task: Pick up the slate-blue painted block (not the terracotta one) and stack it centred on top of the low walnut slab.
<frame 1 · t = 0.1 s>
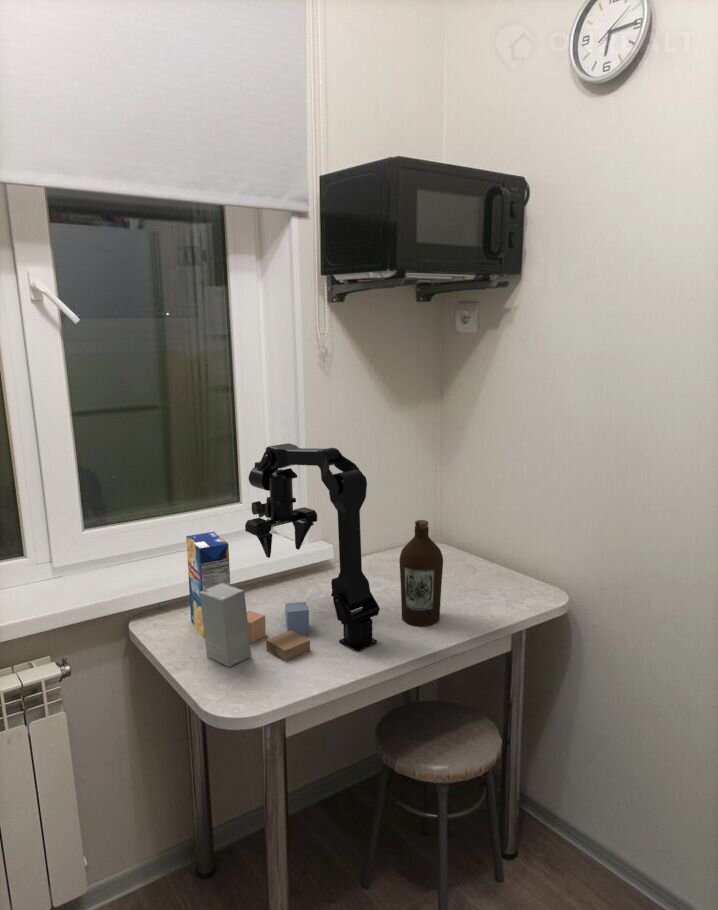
hand: (283, 553, 174), 15 cm above the table, fingers open, 9 cm apart
beverage box: (211, 627, 166), on the table
terracotta block: (250, 636, 161), on the table
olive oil: (420, 619, 169), on the table
walnut slab: (288, 652, 153), on the table
slate block: (297, 630, 164), on the table
skincare box: (227, 658, 151), on the table
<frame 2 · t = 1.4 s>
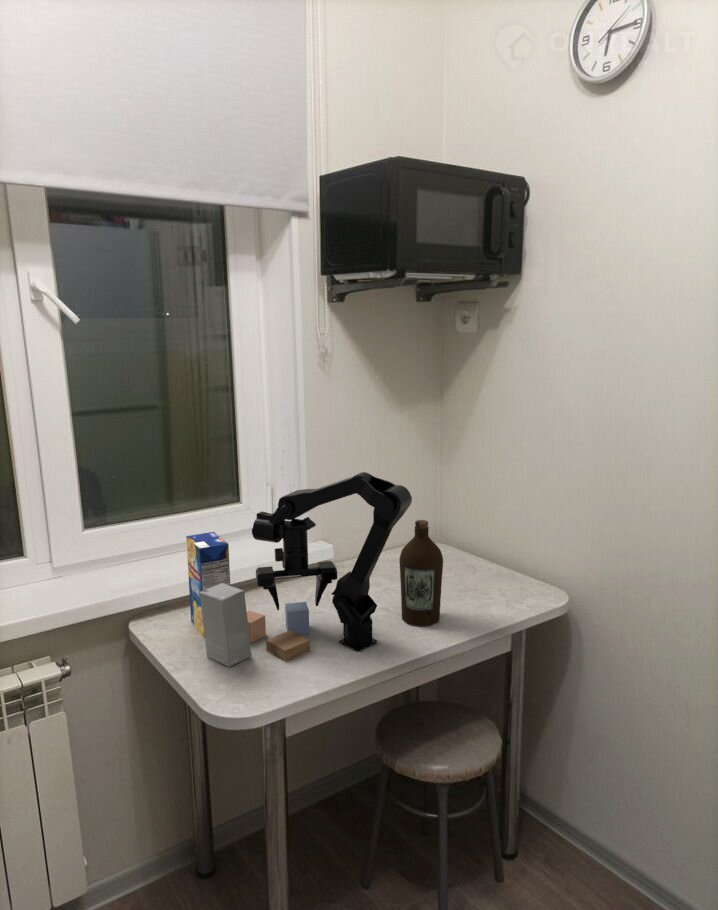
hand: (297, 607, 163), 6 cm above the table, fingers open, 9 cm apart
nothing on the table moved.
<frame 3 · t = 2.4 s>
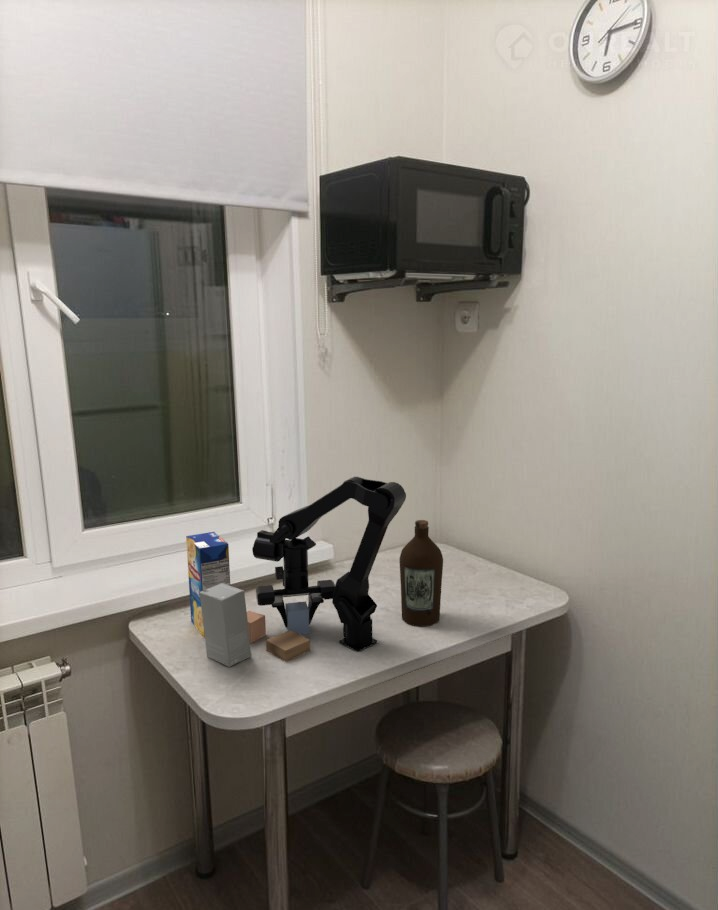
hand: (297, 625, 164), 1 cm above the table, fingers closed on slate block, 5 cm apart
slate block: (297, 630, 164), on the table, touching gripper
everything else where it was.
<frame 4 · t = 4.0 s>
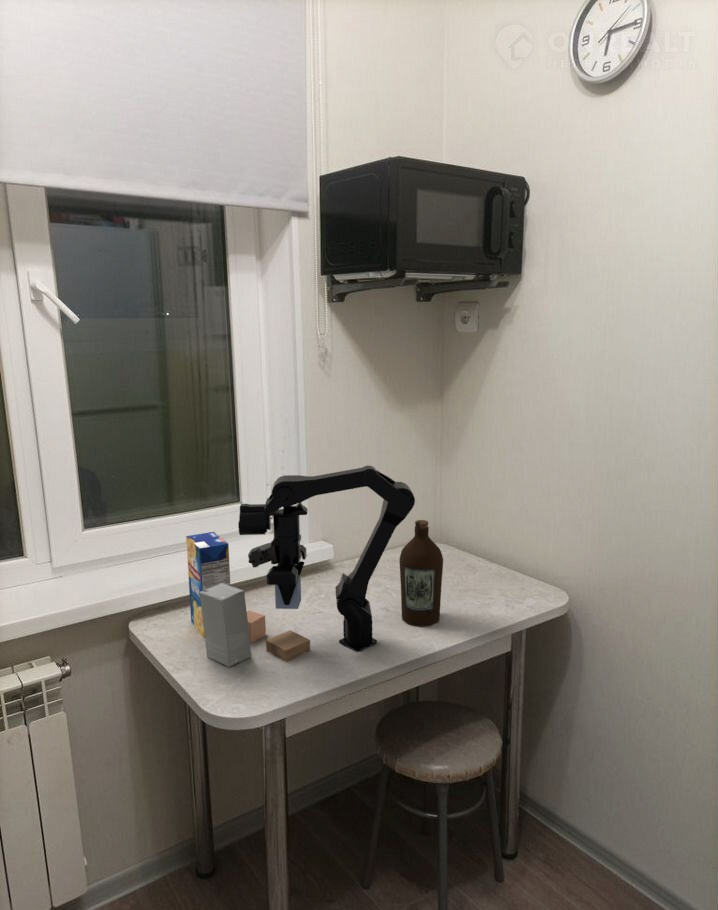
hand: (288, 599, 154), 11 cm above the table, fingers closed on slate block, 5 cm apart
slate block: (288, 604, 154), point 10 cm above the table, touching gripper
everything else where it was.
when the fingers open (5 cm above the table, at t = 5.6 s): slate block drops 2 cm, point 3 cm above the table.
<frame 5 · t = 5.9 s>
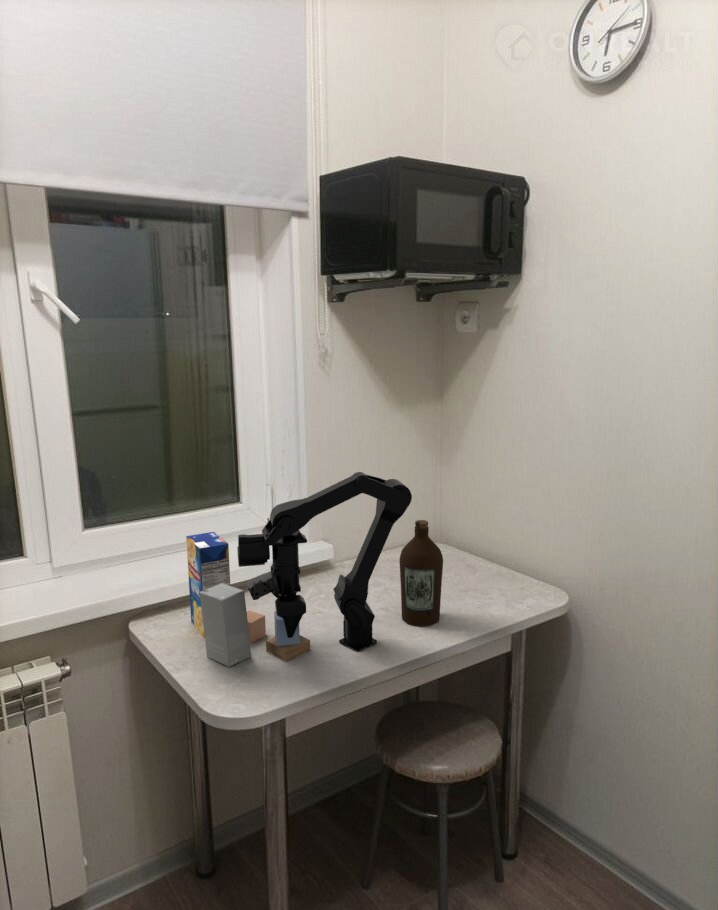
hand: (287, 628, 152), 5 cm above the table, fingers open, 8 cm apart
slate block: (287, 640, 153), point 3 cm above the table
everything else where it was.
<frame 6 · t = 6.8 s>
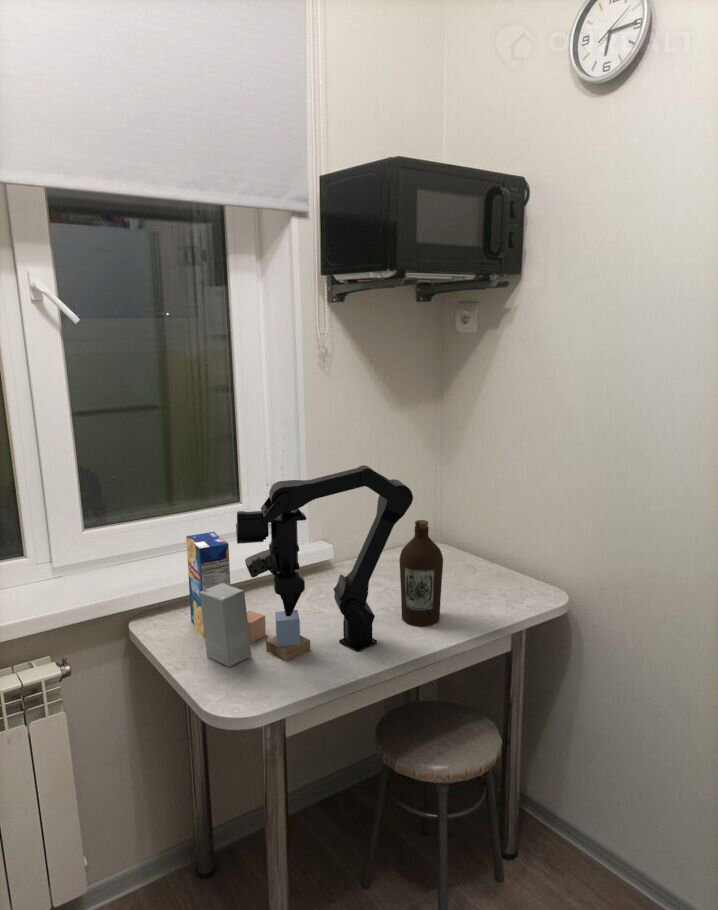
hand: (285, 607, 151), 10 cm above the table, fingers open, 9 cm apart
walnut slab: (288, 652, 154), on the table, touching slate block
slate block: (288, 640, 153), point 3 cm above the table, touching walnut slab
everything else where it was.
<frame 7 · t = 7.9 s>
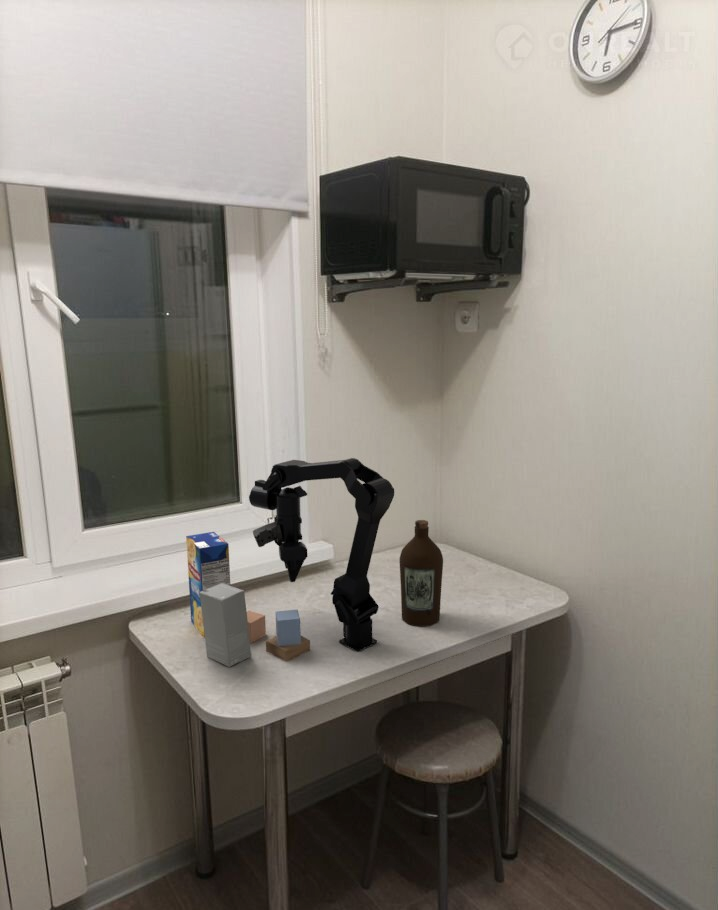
hand: (290, 574, 166), 12 cm above the table, fingers open, 9 cm apart
nothing on the table moved.
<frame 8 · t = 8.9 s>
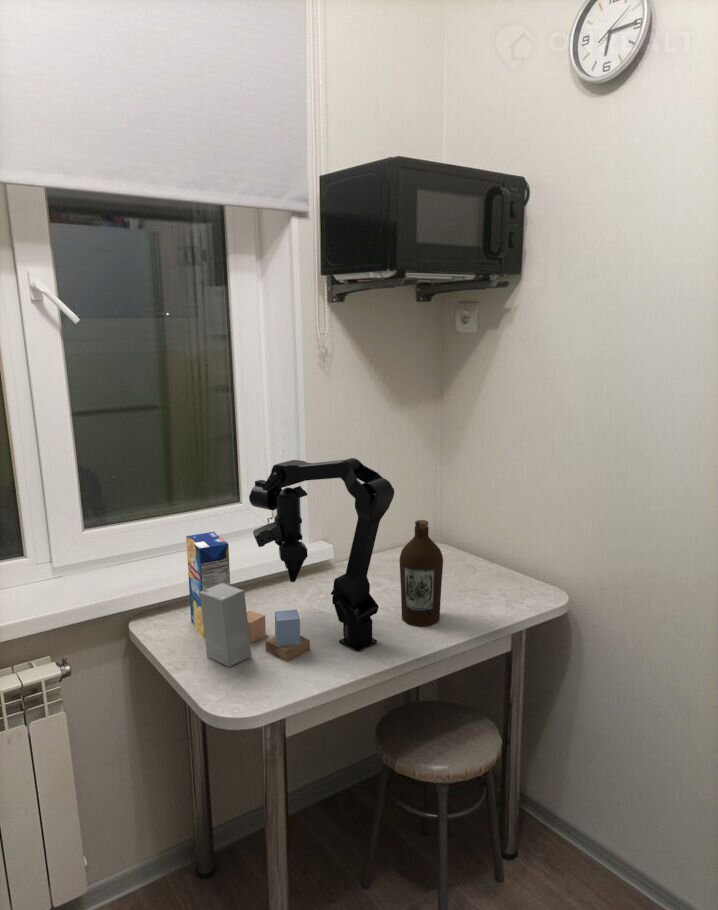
hand: (290, 574, 166), 12 cm above the table, fingers open, 9 cm apart
nothing on the table moved.
at the end: slate block 0.1 cm off-centre on the walnut slab, point 3.1 cm above the walnut slab's base; slate block tilted 1°; terracotta block moved 0.1 cm from its start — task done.
